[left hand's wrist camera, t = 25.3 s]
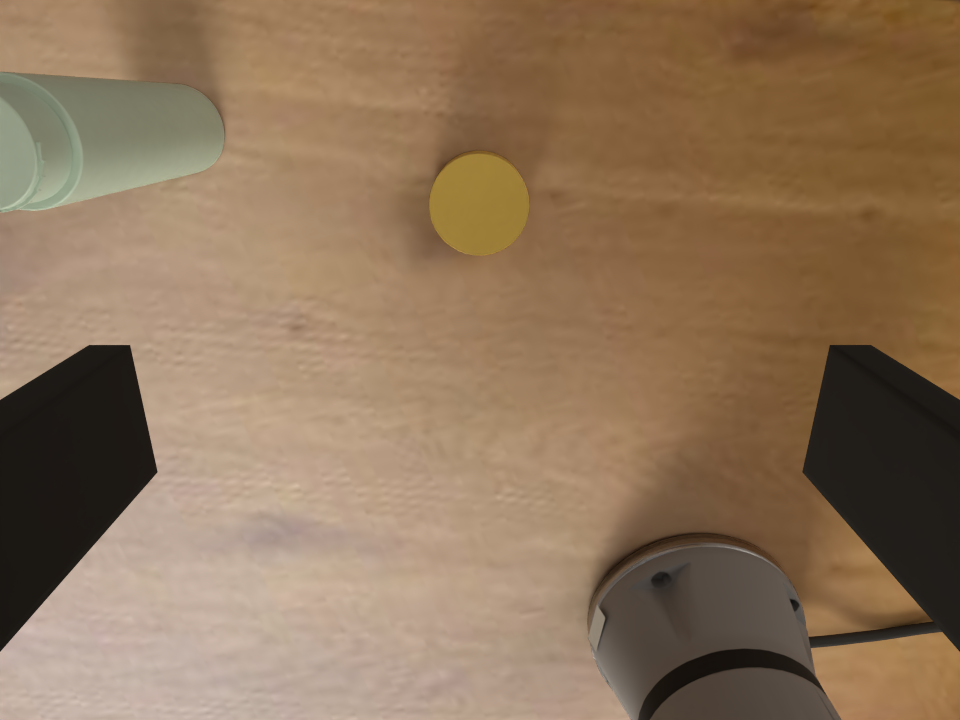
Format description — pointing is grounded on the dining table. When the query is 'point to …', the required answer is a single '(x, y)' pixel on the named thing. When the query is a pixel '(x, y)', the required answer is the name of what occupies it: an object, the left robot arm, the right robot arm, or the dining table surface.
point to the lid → (479, 203)
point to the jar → (98, 137)
